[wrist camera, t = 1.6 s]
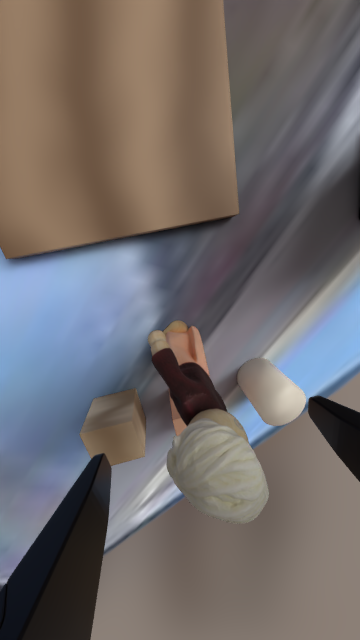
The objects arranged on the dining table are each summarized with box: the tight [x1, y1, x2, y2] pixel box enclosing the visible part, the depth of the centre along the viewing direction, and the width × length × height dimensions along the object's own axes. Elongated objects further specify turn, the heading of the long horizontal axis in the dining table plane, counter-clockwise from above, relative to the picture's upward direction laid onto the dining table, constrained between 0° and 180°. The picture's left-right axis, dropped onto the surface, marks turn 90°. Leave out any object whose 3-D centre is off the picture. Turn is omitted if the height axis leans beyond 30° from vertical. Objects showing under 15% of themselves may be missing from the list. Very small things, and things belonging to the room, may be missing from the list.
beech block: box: [79, 388, 146, 466], centre depth 17 cm, size 4×4×4 cm
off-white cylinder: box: [237, 358, 306, 426], centre depth 18 cm, size 4×4×4 cm
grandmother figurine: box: [148, 320, 269, 524], centre depth 12 cm, size 8×4×13 cm, turn 44°
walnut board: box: [0, 0, 239, 259], centre depth 12 cm, size 16×12×1 cm
